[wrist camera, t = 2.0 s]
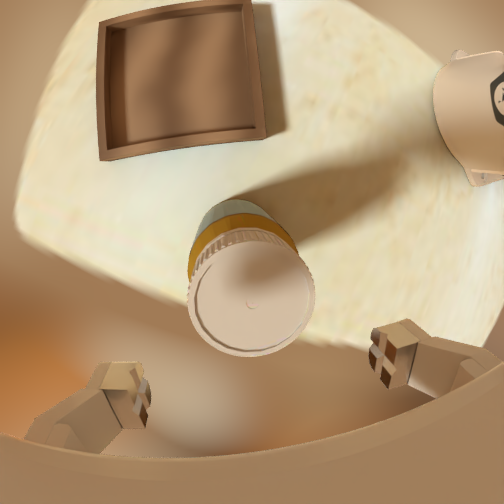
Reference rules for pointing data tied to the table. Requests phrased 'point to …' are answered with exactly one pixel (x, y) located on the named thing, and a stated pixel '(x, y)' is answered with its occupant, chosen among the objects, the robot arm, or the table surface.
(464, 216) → the table surface
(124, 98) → the serving tray
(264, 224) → the bottle
